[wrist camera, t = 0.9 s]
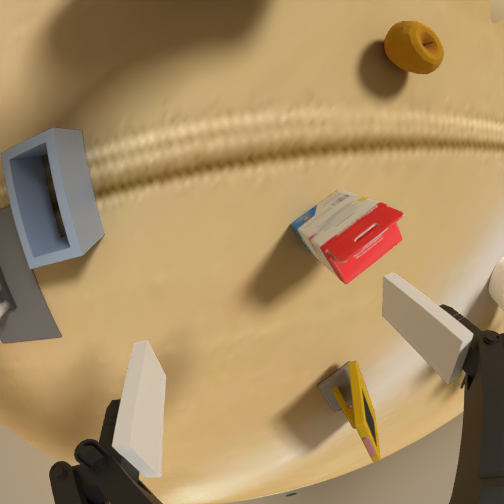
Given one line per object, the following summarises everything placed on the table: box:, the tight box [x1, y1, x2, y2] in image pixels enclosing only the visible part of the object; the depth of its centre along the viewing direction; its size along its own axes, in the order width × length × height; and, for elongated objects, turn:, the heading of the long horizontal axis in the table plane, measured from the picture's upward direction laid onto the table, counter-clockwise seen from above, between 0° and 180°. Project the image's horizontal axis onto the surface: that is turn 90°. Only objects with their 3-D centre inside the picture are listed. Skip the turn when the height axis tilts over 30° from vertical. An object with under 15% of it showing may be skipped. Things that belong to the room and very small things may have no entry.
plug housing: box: [1, 127, 105, 269], centre depth 28 cm, size 14×8×8 cm, turn 9°
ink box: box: [291, 190, 404, 284], centre depth 32 cm, size 8×5×15 cm, turn 125°
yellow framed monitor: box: [318, 361, 381, 462], centre depth 44 cm, size 20×8×16 cm, turn 27°
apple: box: [384, 21, 444, 74], centre depth 28 cm, size 9×8×9 cm
